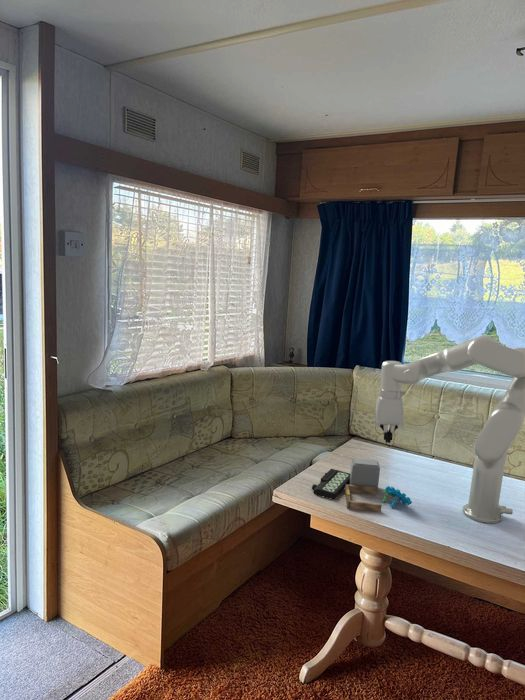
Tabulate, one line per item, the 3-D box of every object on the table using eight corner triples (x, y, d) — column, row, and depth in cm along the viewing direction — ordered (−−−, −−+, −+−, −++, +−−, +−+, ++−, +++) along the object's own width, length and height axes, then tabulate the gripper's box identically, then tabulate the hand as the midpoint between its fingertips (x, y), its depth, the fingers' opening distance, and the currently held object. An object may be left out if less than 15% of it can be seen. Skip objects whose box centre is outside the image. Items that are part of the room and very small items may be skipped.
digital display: (329, 466, 207) (353, 473, 203) (328, 474, 208) (352, 481, 203) (309, 485, 188) (335, 493, 184) (308, 493, 189) (334, 501, 185)
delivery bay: (376, 493, 192) (376, 486, 191) (380, 512, 178) (381, 504, 177) (344, 490, 193) (345, 483, 192) (347, 508, 179) (347, 500, 178)
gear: (417, 504, 181) (404, 488, 177) (409, 519, 179) (395, 503, 175) (393, 496, 190) (380, 480, 186) (385, 509, 188) (371, 494, 184)
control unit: (375, 485, 199) (378, 459, 197) (377, 493, 192) (380, 466, 190) (349, 482, 200) (351, 456, 198) (350, 490, 193) (352, 463, 191)
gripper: (409, 392, 195) (406, 439, 197) (369, 391, 196) (366, 437, 199) (412, 397, 187) (409, 446, 190) (371, 395, 189) (368, 443, 192)
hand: (387, 441), depth 194 cm, fingers closed
